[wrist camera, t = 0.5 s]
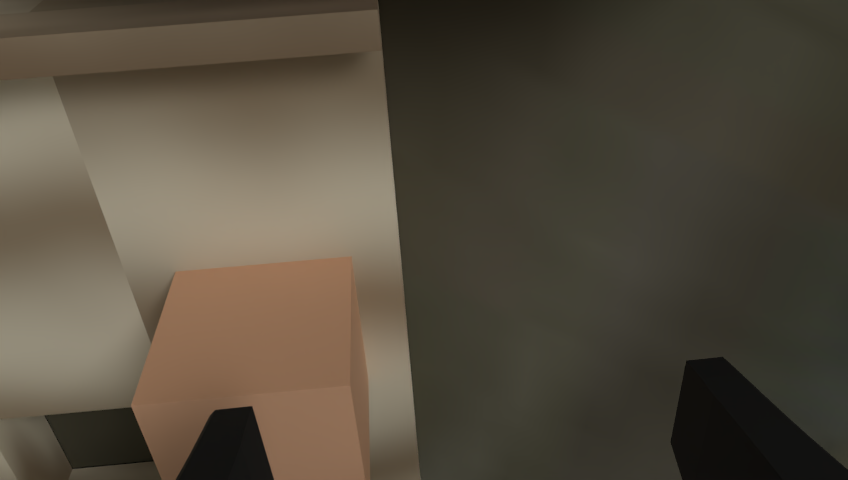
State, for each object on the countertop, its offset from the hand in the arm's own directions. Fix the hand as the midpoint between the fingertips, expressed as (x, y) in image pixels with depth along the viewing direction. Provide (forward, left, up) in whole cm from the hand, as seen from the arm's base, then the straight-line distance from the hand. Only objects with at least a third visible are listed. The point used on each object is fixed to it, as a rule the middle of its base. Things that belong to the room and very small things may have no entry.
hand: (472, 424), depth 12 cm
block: (-4, +4, -7) cm, 9 cm away
